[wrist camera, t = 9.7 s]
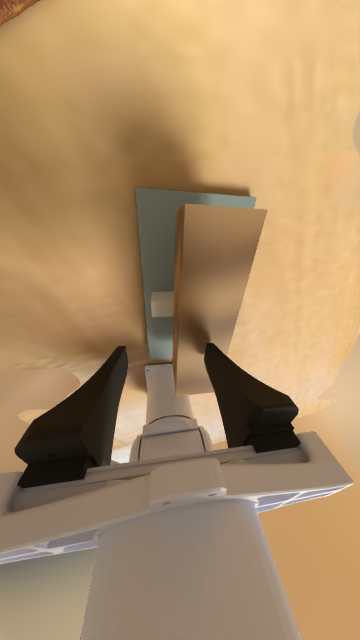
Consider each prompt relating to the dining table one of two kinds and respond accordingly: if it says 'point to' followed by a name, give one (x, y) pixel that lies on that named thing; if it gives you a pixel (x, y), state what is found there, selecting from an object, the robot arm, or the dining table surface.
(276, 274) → the dining table surface
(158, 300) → the ridge stand
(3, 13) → the wooden tablet
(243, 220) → the walnut bar
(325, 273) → the dining table surface
